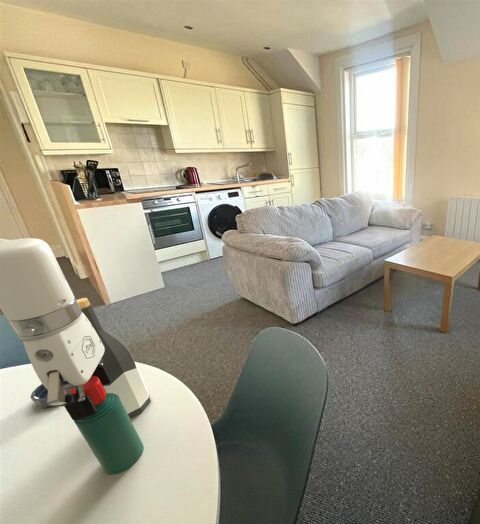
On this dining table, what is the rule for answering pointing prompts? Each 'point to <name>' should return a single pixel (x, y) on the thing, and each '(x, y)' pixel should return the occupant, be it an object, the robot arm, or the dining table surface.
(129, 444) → the water bottle
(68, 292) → the robot arm
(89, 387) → the cap
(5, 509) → the dining table surface
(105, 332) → the wine bottle
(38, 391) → the dish
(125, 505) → the dining table surface
